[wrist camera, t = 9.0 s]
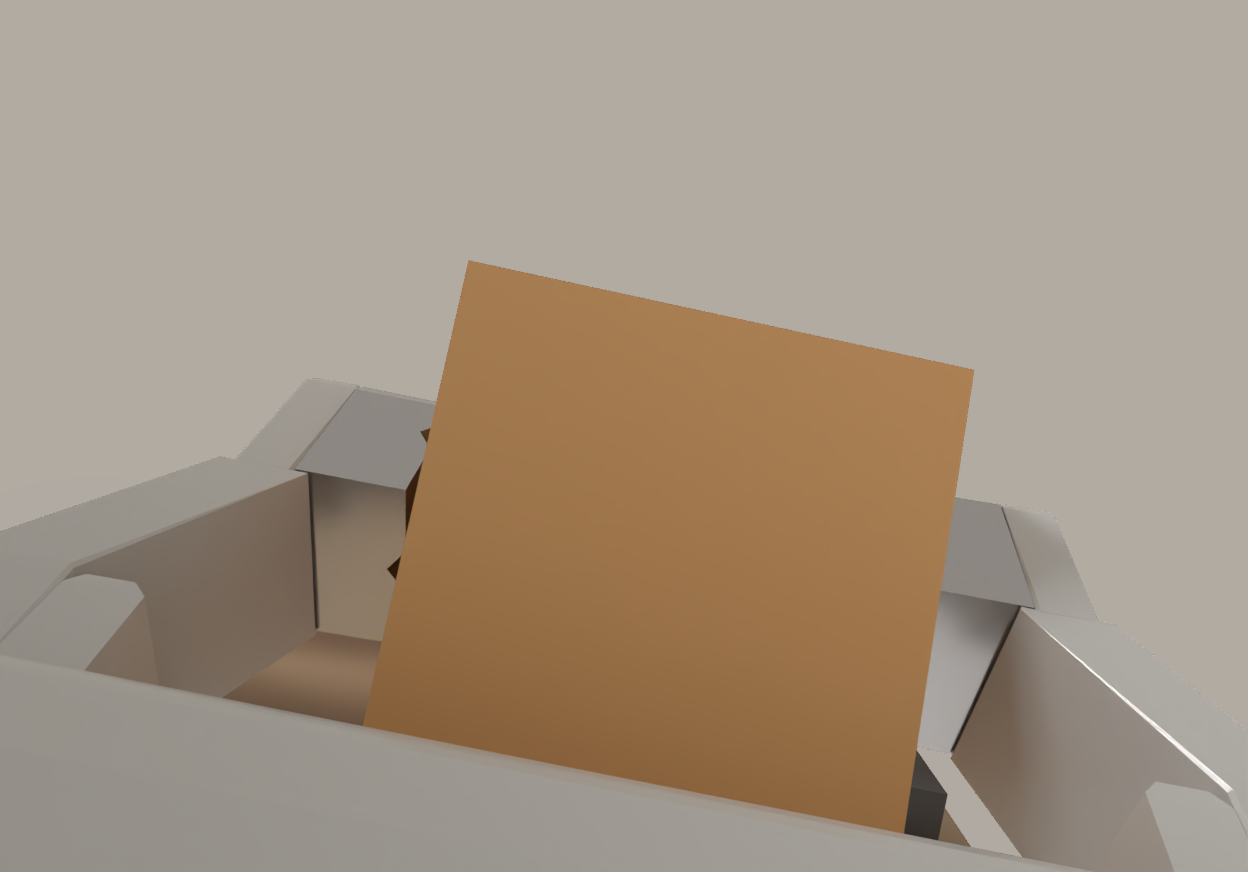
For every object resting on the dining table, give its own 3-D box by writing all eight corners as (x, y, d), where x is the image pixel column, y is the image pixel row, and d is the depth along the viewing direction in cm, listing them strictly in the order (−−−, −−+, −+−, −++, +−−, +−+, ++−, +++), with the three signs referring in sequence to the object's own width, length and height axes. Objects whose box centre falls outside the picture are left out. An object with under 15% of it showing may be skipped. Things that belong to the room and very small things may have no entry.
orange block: (892, 900, 7) (973, 370, 8) (345, 800, 7) (468, 260, 7) (613, 627, 35) (635, 516, 35) (502, 605, 35) (525, 493, 35)
